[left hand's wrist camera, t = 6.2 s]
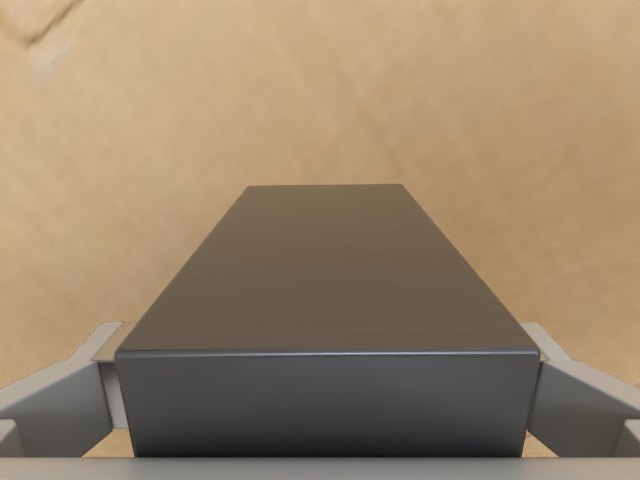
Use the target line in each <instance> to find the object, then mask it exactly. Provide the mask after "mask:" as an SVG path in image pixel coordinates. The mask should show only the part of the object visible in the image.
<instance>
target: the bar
mask: <svg viewBox="0 0 640 480" xmlns="http://www.w3.org/2000/svg"><path fill="white" fill-rule="evenodd" d="M540 356H541V354H540V349H539V347H538V346H537V344H536V343H535V342H534V341H533V340H532V339H531V337H530V336H529V335H528V334H527V333H526V331H525V330H524V329H523V328H522V327H521V325H520V324H519V323H518V322H517V321H516V319H515V318H514V317H513V316H512V315H511V314H510V312H509V311H508V310H507V309H506V308H505V306H504V305H503V304H502V303H501V302H500V300H499V299H498V298H497V297H496V296H495V295H494V293H493V292H492V291H491V290H490V289H489V287H488V286H487V285H486V284H485V283H484V281H483V280H482V279H481V278H480V277H479V276H478V274H477V273H476V272H475V271H474V270H473V268H472V267H471V266H470V265H469V264H468V262H467V261H466V260H465V259H464V258H463V257H462V255H461V254H460V253H459V252H458V251H457V249H456V248H455V247H454V246H453V245H452V243H451V242H450V241H449V240H448V239H447V238H446V236H445V235H444V234H443V233H442V232H441V230H440V229H439V228H438V227H437V226H436V224H435V223H434V222H433V221H432V220H431V219H430V217H429V216H428V215H427V214H426V213H425V211H424V210H423V209H422V208H421V207H420V205H419V204H418V203H417V202H416V201H415V199H414V198H413V197H412V196H411V195H410V194H409V192H408V191H407V190H406V189H405V188H404V186H403V185H401V184H370V185H291V186H248V187H247V188H246V189H245V191H244V192H243V193H242V194H241V196H240V197H239V198H238V199H237V201H236V202H235V203H234V204H233V205H232V207H231V208H230V209H229V210H228V212H227V213H226V214H225V215H224V217H223V218H222V219H221V220H220V222H219V223H218V224H217V225H216V226H215V228H214V229H213V230H212V231H211V233H210V234H209V235H208V236H207V238H206V239H205V240H204V241H203V243H202V244H201V245H200V246H199V248H198V249H197V250H196V251H195V252H194V254H193V255H192V256H191V257H190V259H189V260H188V261H187V262H186V264H185V265H184V266H183V267H182V269H181V270H180V271H179V272H178V273H177V275H176V276H175V277H174V278H173V280H172V281H171V282H170V283H169V285H168V286H167V287H166V288H165V290H164V291H163V292H162V293H161V294H160V296H159V297H158V298H157V299H156V301H155V302H154V303H153V304H152V306H151V307H150V308H149V309H148V311H147V312H146V313H145V314H144V316H143V317H142V318H141V319H140V320H139V322H138V323H137V324H136V325H135V327H134V328H133V329H132V330H131V332H130V333H129V334H128V335H127V337H126V338H125V339H124V340H123V341H122V343H121V344H120V345H119V346H118V348H117V349H116V350H115V353H114V362H115V367H116V371H117V376H118V381H119V385H120V390H121V395H122V399H123V404H124V409H125V414H126V418H127V423H128V428H129V432H130V437H131V442H132V447H133V451H134V456H135V457H521V456H522V451H523V445H524V440H525V435H526V430H527V424H528V419H529V414H530V409H531V403H532V398H533V393H534V388H535V382H536V377H537V372H538V367H539V361H540Z"/></svg>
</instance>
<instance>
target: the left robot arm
mask: <svg viewBox="0 0 640 480" xmlns="http://www.w3.org/2000/svg"><path fill="white" fill-rule="evenodd" d="M137 323H138V322H104V323H101V324H100V325H99V326H98V327H97V328H96V330H95V331H94V332H93V333H92V334H91V335H90V336H89V337H88V338H87V339H86V340H85V341H84V343H83V344H82V345H81V346H80V347H79V348H78V349H77V350H76V351H75V352H74V353H73V354H72V355H71V357H70V358H69V359H68V360H67V361H58V362H56V363H54V364H52V365H50V366H48V367H46V368H43V369H41V370H39V371H37V372H35V373H33V374H31V375H28V376H26V377H24V378H22V379H20V380H18V381H16V382H13V383H11V384H9V385H7V386H5V387H3V388H1V389H0V480H640V389H639V388H637V387H635V386H633V385H631V384H629V383H627V382H624V381H622V380H620V379H618V378H616V377H614V376H612V375H609V374H607V373H605V372H603V371H601V370H599V369H597V368H594V367H592V366H590V365H588V364H586V363H584V362H582V361H573V360H572V359H571V358H570V357H569V355H568V354H567V353H566V352H565V351H564V350H563V349H562V348H561V347H560V346H559V345H558V344H557V342H556V341H555V340H554V339H553V338H552V337H551V336H550V335H549V334H548V333H547V332H546V331H545V329H544V328H543V327H542V326H541V325H540V324H539V323H536V322H518V323H519V324H520V325H521V327H522V328H523V329H524V330H525V331H526V333H527V334H528V335H529V336H530V337H531V339H532V340H533V341H534V342H535V343H536V344H537V346H538V347H539V349H540V354H541V356H540V361H539V367H538V372H537V377H536V382H535V388H534V393H533V398H532V403H531V409H530V414H529V419H528V424H527V429H528V432H529V433H531V434H532V435H533V436H534V437H536V438H537V439H538V440H539V441H540V442H542V443H543V444H544V445H545V446H547V447H548V448H549V449H550V450H551V451H553V452H554V453H555V454H556V455H558V456H559V457H81V456H83V455H84V454H85V453H86V452H88V451H89V450H90V449H91V448H92V447H94V446H95V445H96V444H97V443H99V442H100V441H101V440H102V439H103V438H105V437H106V436H107V435H108V434H110V433H111V432H112V429H129V428H128V423H127V418H126V414H125V409H124V404H123V399H122V395H121V390H120V385H119V381H118V376H117V371H116V367H115V362H114V353H115V350H116V349H117V348H118V346H119V345H120V344H121V343H122V341H123V340H124V339H125V338H126V337H127V335H128V334H129V333H130V332H131V330H132V329H133V328H134V327H135V325H136V324H137Z"/></svg>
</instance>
